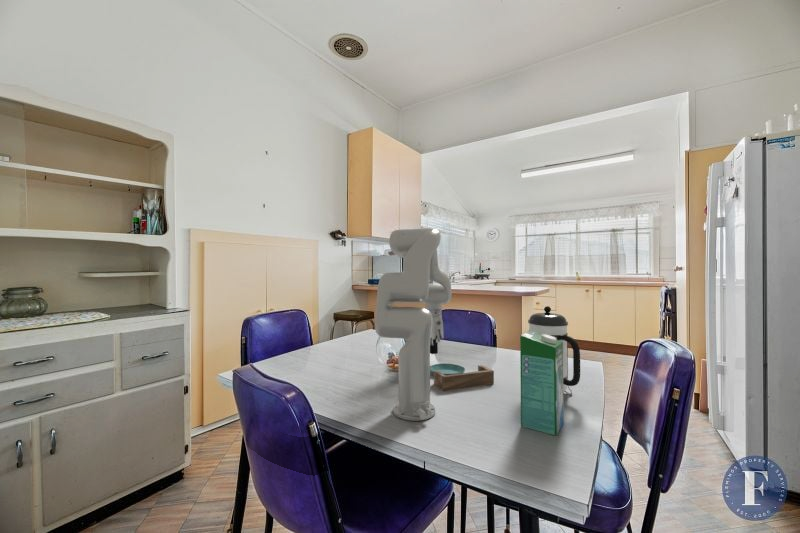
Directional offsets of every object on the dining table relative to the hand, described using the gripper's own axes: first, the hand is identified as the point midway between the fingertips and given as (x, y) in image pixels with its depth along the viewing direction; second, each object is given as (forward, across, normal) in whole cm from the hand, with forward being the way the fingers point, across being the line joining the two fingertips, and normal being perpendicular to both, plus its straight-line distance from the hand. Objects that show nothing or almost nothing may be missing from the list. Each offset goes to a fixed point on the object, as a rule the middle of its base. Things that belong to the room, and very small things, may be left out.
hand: (433, 353), depth 149 cm
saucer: (+6, -13, 0) cm, 14 cm away
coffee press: (+5, -45, -24) cm, 51 cm away
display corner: (+5, -26, 0) cm, 26 cm away
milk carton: (+5, -62, -3) cm, 62 cm away
